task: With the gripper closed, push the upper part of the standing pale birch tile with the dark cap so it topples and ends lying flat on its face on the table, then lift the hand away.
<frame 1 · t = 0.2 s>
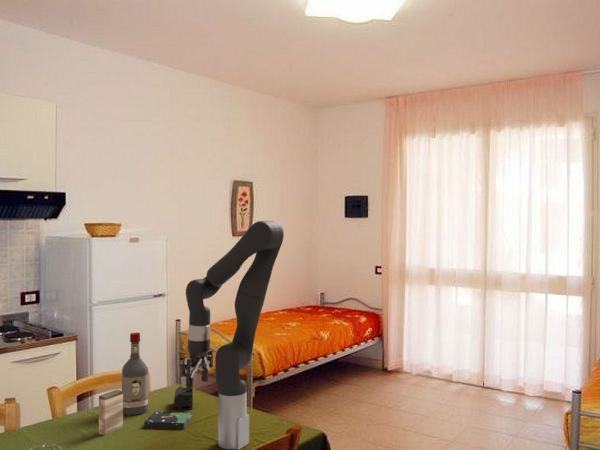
hand: (197, 384, 178), 18 cm above the table, tool pointing down, fingers open, 8 cm apart
end cap: (183, 407, 207), on the table
disk drive: (168, 424, 190), on the table
birch tile: (111, 430, 183), on the table
liquor: (134, 411, 202), on the table
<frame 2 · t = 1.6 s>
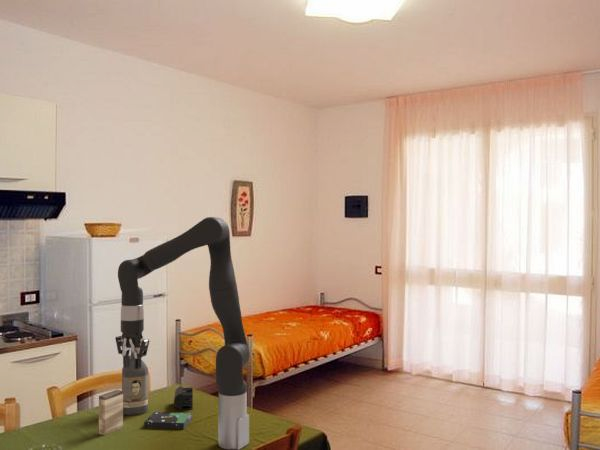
hand: (132, 367, 178), 23 cm above the table, tool pointing down, fingers open, 4 cm apart
nothing on the table moved.
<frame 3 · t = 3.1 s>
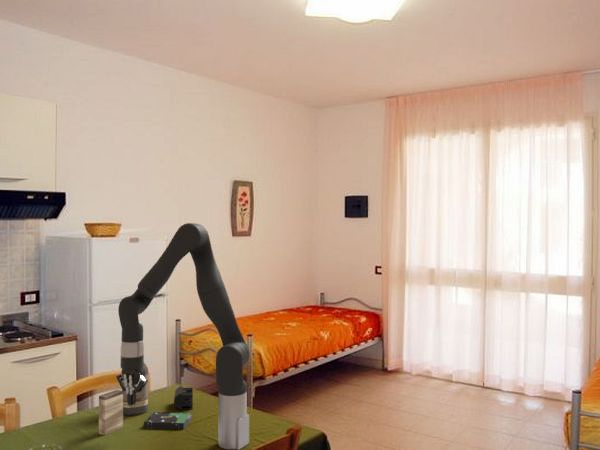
hand: (131, 404, 178), 11 cm above the table, tool pointing down, fingers closed
nothing on the table moved.
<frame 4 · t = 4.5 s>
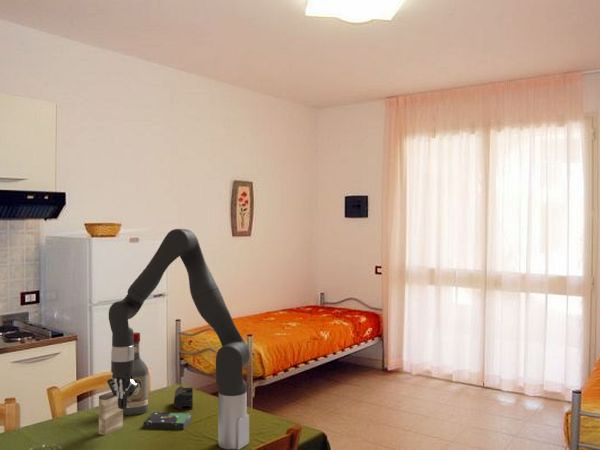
hand: (122, 408, 180), 9 cm above the table, tool pointing down, fingers closed
nothing on the table moved.
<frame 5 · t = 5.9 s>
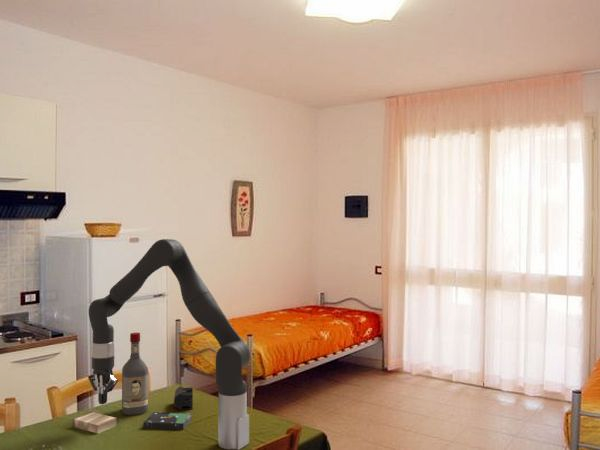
hand: (102, 403, 185), 9 cm above the table, tool pointing down, fingers closed
birch tile: (107, 425, 184), point 1 cm above the table, tilted 90°
everything else where it was.
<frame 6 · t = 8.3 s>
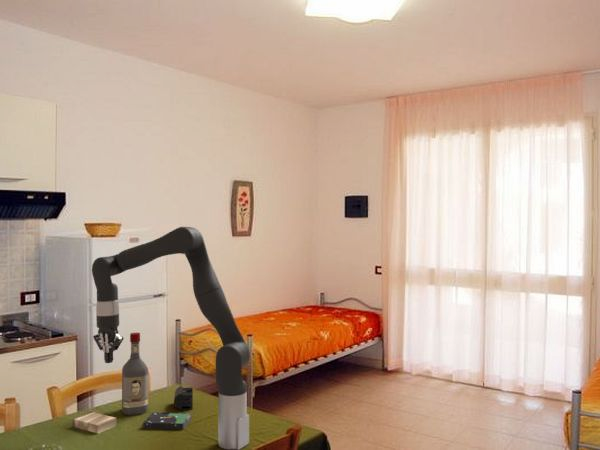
hand: (108, 362, 183), 24 cm above the table, tool pointing down, fingers closed
nothing on the table moved.
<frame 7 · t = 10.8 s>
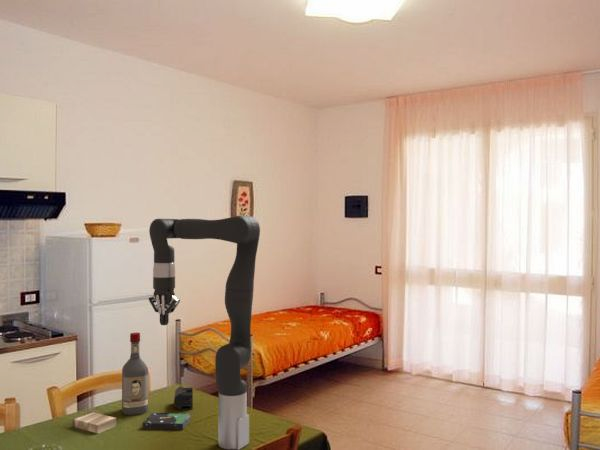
hand: (164, 324, 183), 37 cm above the table, tool pointing down, fingers closed
nothing on the table moved.
at the end: birch tile tilted 90°; birch tile inside the target area (0.8 cm from its centre), point 1.3 cm above the table; the gripper is holding nothing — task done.
